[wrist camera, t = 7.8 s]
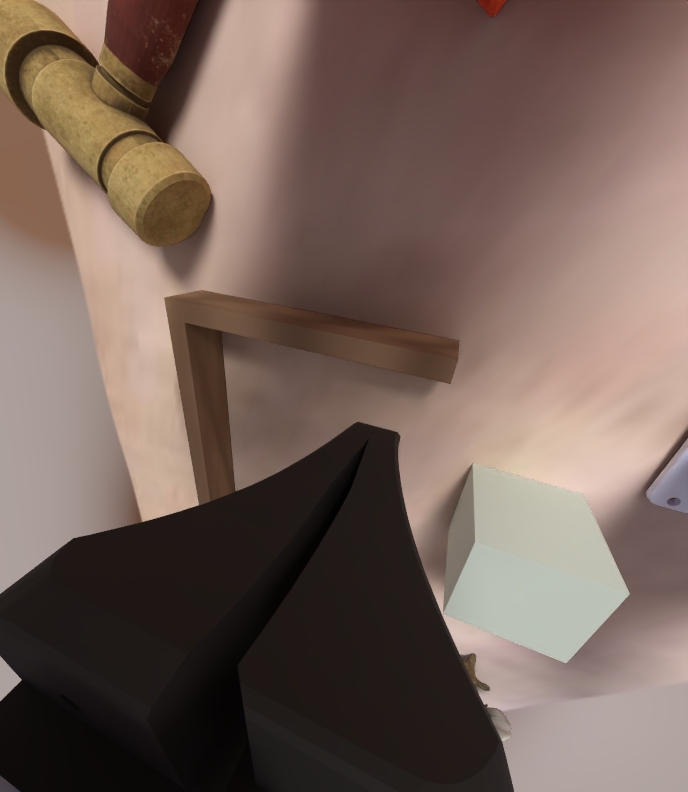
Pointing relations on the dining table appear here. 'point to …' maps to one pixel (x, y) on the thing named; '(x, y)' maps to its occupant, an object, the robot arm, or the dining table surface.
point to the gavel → (108, 106)
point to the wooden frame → (338, 337)
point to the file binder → (491, 6)
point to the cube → (529, 564)
